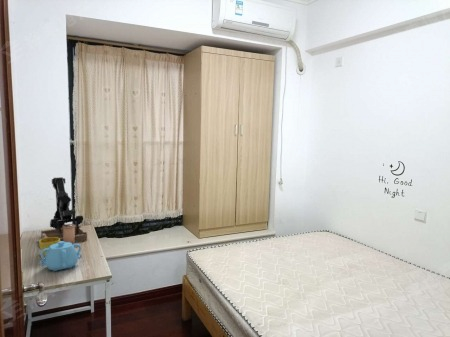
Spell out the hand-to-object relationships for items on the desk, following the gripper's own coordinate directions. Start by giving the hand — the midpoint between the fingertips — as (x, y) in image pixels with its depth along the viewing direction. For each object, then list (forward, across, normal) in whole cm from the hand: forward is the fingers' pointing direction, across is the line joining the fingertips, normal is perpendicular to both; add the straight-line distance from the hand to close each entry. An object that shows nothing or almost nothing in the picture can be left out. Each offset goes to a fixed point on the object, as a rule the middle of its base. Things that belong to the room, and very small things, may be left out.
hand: (69, 232), depth 194 cm
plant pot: (+15, -13, -2) cm, 20 cm away
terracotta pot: (+5, 0, +7) cm, 8 cm away
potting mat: (+6, 0, +6) cm, 8 cm away
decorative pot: (+28, -11, -16) cm, 34 cm away
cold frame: (-4, 0, +16) cm, 16 cm away
